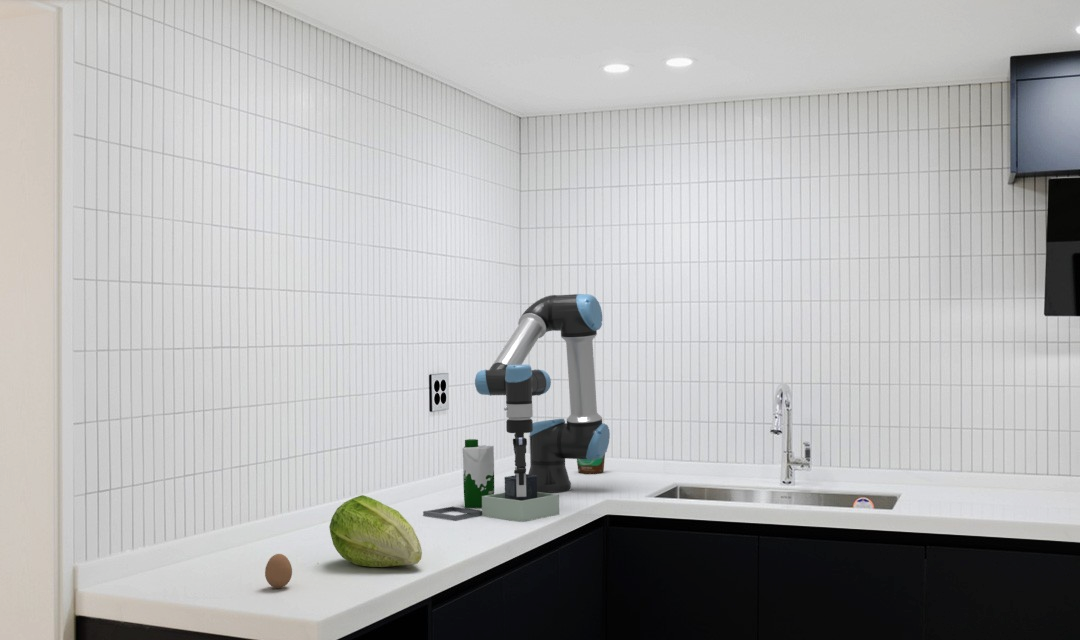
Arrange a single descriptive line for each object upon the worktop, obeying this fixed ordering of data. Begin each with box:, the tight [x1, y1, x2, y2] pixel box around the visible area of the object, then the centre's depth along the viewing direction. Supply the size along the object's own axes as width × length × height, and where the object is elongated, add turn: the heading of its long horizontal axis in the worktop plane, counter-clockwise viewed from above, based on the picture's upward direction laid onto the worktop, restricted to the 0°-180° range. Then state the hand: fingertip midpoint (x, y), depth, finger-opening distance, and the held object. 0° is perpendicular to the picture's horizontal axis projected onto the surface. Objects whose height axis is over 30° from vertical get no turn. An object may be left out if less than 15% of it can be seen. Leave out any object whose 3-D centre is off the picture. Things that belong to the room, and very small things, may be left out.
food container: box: [576, 450, 608, 475], centre depth 391 cm, size 12×6×10 cm, turn 81°
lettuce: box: [329, 494, 423, 568], centre depth 238 cm, size 15×25×16 cm
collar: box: [422, 505, 483, 522], centre depth 303 cm, size 12×14×1 cm
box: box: [504, 473, 537, 501], centre depth 302 cm, size 8×6×11 cm
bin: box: [481, 491, 560, 522], centre depth 302 cm, size 16×16×6 cm
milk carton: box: [461, 438, 495, 509], centre depth 319 cm, size 9×9×20 cm
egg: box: [264, 553, 293, 589], centre depth 217 cm, size 5×5×7 cm
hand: (520, 492), depth 302 cm, fingers open, 13 cm apart
